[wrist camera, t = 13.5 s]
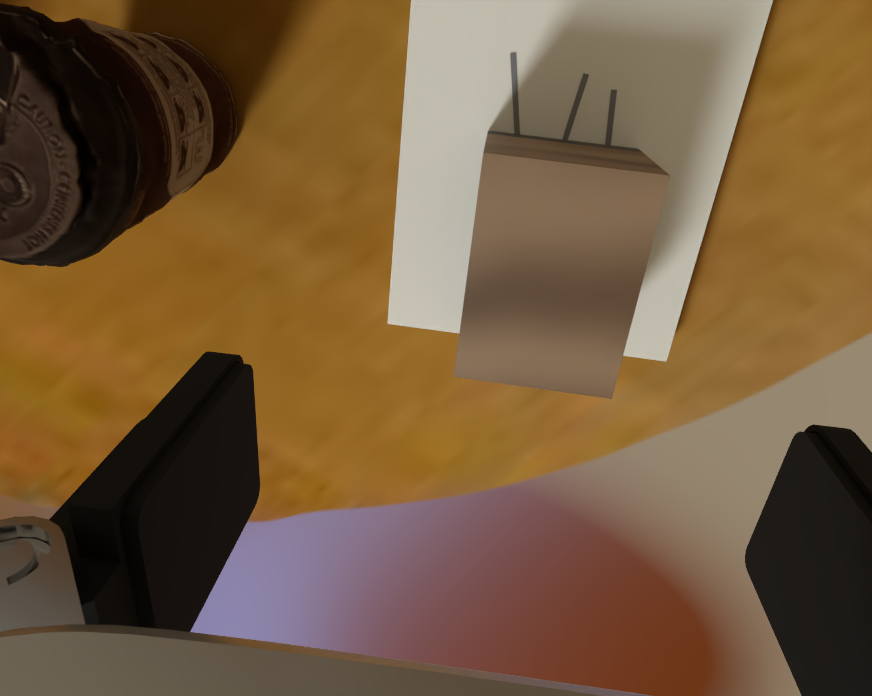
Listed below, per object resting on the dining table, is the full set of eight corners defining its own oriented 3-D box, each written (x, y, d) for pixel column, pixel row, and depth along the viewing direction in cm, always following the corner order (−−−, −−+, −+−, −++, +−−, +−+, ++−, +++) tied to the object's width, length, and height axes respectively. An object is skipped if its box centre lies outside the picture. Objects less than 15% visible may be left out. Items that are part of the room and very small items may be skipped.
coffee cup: (207, -29, 27) (-16, -82, 16) (296, 155, 30) (165, 226, 19) (52, 56, 30) (-244, 65, 18) (150, 220, 33) (-49, 320, 21)
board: (428, -161, 25) (423, -173, 23) (796, -125, 24) (813, -135, 23) (392, 312, 33) (387, 323, 32) (659, 348, 33) (666, 361, 31)
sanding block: (487, 130, 27) (483, 152, 22) (638, 148, 27) (670, 175, 22) (462, 319, 31) (453, 376, 26) (593, 336, 31) (611, 398, 26)
